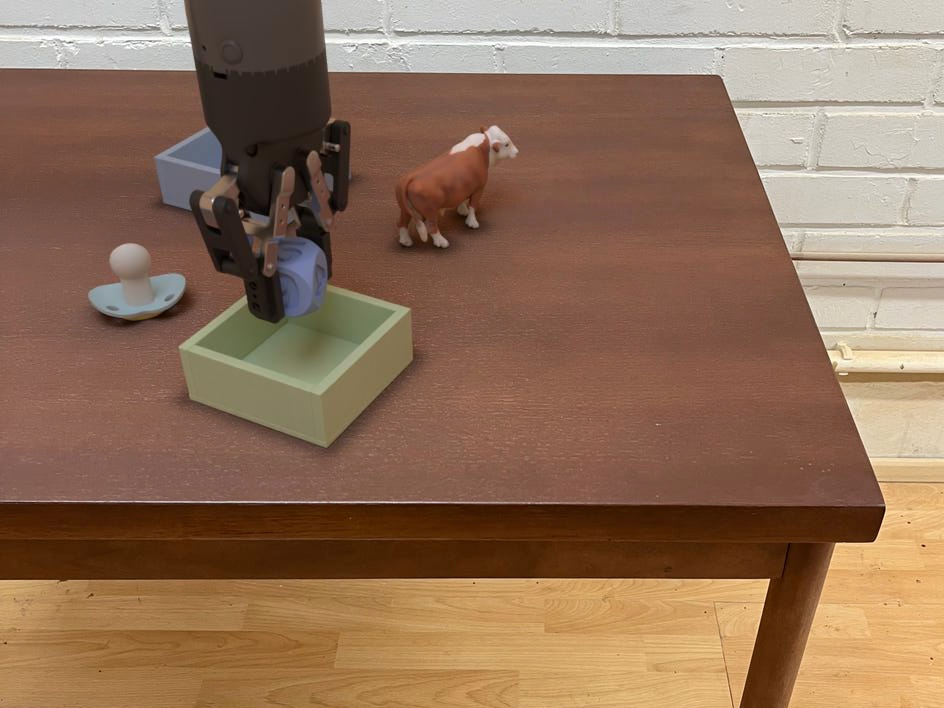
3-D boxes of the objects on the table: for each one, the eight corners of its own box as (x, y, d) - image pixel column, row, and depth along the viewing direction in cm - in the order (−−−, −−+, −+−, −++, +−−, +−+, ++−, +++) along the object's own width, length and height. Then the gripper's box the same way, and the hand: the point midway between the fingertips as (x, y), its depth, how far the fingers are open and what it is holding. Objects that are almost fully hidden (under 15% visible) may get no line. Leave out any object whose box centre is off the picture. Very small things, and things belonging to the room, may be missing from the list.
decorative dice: (330, 289, 70) (324, 237, 68) (316, 320, 67) (309, 267, 65) (274, 285, 71) (266, 233, 68) (258, 316, 68) (249, 263, 65)
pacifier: (90, 299, 81) (99, 335, 77) (69, 227, 77) (77, 261, 73) (181, 281, 83) (195, 316, 79) (166, 211, 79) (179, 243, 75)
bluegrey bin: (163, 203, 93) (153, 156, 90) (246, 152, 102) (239, 108, 99) (274, 234, 89) (267, 186, 86) (351, 178, 98) (347, 133, 95)
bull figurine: (523, 213, 93) (527, 126, 87) (416, 265, 85) (412, 174, 80) (489, 197, 95) (491, 111, 89) (382, 246, 88) (376, 157, 82)
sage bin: (189, 399, 71) (177, 346, 68) (285, 319, 79) (278, 269, 76) (326, 448, 67) (320, 395, 64) (413, 359, 75) (411, 308, 72)
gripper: (278, -3, 63) (307, 240, 75) (121, 70, 54) (181, 336, 65) (380, 15, 61) (394, 264, 72) (234, 96, 51) (276, 367, 63)
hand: (293, 297), depth 69 cm, fingers closed on decorative dice, 5 cm apart
